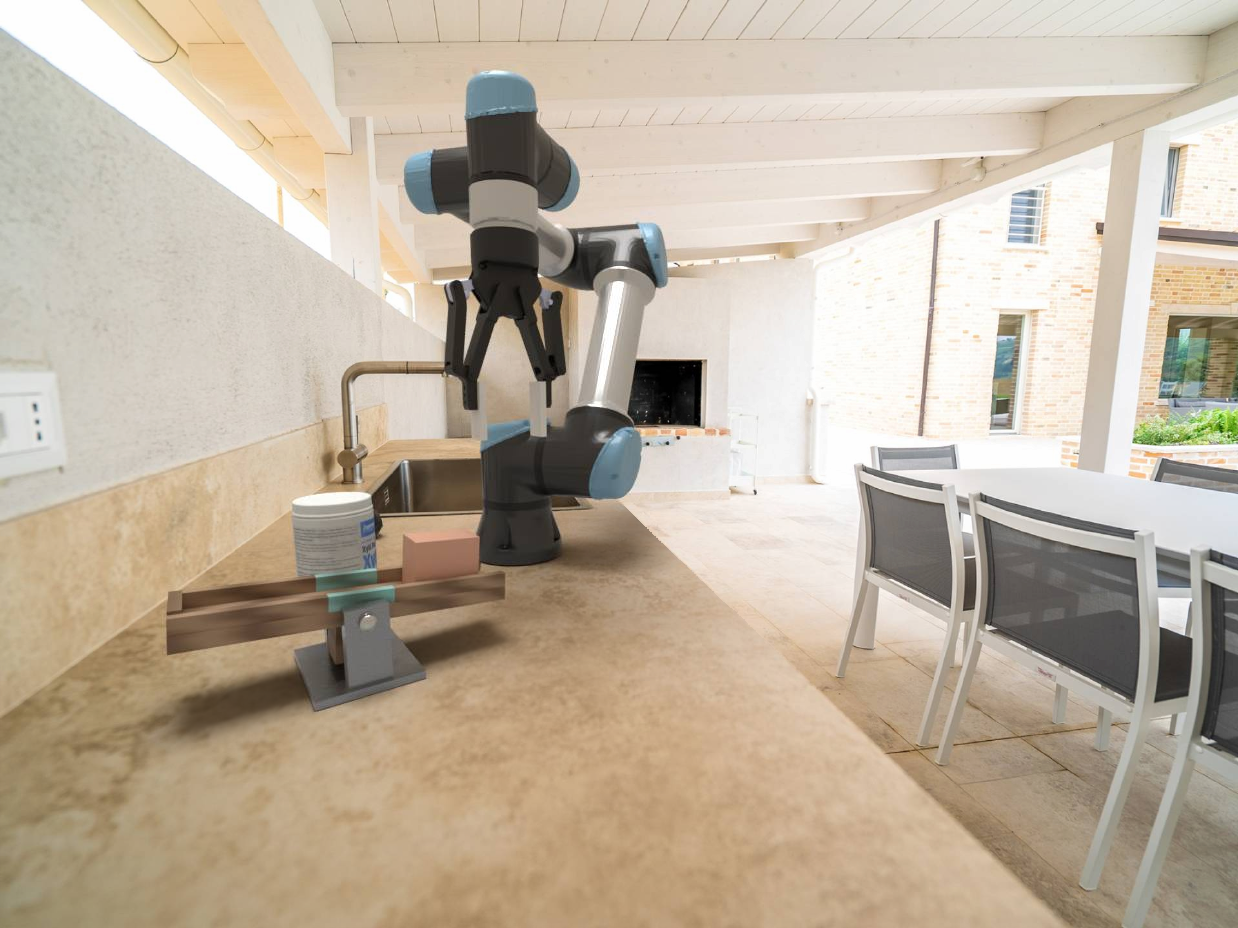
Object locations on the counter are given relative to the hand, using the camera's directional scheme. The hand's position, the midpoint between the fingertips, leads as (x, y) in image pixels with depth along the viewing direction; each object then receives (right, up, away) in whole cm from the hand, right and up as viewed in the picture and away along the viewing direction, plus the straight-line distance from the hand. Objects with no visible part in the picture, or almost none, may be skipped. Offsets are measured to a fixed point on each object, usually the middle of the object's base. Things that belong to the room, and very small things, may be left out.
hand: (509, 437), depth 68 cm
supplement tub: (-24, -22, +9) cm, 34 cm away
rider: (-7, -16, -3) cm, 18 cm away
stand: (-14, -24, -7) cm, 29 cm away
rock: (-38, -18, +41) cm, 58 cm away
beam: (-15, -23, -8) cm, 28 cm away
